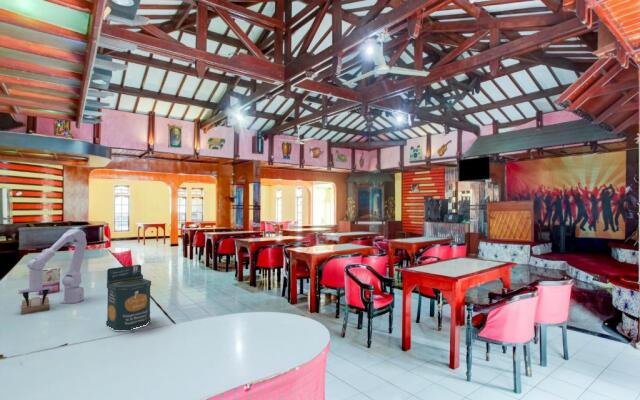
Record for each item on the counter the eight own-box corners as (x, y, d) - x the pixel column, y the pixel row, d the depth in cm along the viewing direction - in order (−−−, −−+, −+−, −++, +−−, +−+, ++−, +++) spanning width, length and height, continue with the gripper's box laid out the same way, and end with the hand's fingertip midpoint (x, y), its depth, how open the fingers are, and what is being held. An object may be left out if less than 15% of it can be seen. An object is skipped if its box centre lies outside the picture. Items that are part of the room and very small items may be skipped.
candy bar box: (57, 290, 232) (57, 267, 232) (59, 291, 229) (60, 267, 229) (36, 294, 223) (37, 269, 223) (39, 295, 220) (39, 270, 220)
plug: (39, 309, 189) (39, 298, 189) (31, 310, 187) (31, 299, 187) (39, 307, 192) (39, 296, 192) (31, 308, 190) (31, 297, 190)
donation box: (140, 317, 177) (141, 264, 177) (154, 324, 167) (155, 267, 167) (106, 325, 164) (106, 268, 165) (119, 333, 154) (119, 272, 155)
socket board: (49, 310, 189) (49, 305, 189) (21, 314, 181) (21, 310, 181) (48, 300, 207) (48, 296, 207) (22, 304, 199) (22, 300, 199)
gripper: (52, 277, 197) (51, 300, 197) (19, 281, 188) (18, 305, 188) (52, 279, 192) (52, 303, 192) (18, 283, 182) (18, 308, 182)
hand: (35, 304), depth 189 cm, fingers open, 6 cm apart
